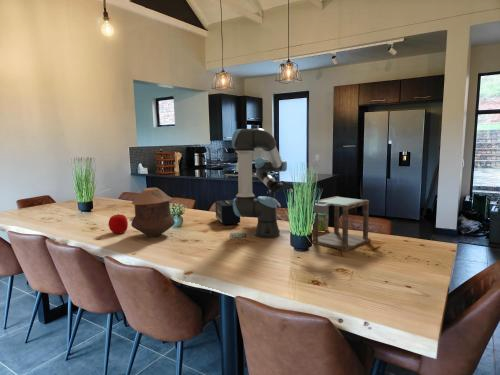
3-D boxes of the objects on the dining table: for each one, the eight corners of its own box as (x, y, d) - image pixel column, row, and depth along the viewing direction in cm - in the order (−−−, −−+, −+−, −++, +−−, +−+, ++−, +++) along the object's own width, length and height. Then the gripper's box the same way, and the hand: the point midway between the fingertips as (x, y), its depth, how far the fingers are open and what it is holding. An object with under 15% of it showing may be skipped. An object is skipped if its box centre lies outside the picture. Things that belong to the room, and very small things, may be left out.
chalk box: (310, 231, 215) (310, 208, 213) (314, 228, 223) (314, 205, 221) (324, 233, 211) (324, 209, 209) (328, 229, 219) (328, 206, 217)
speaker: (215, 219, 253) (215, 199, 251) (232, 218, 257) (232, 198, 255) (222, 226, 232) (221, 204, 230) (240, 224, 236) (239, 203, 234)
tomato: (124, 235, 215) (123, 215, 213) (106, 235, 215) (104, 216, 213) (131, 230, 227) (130, 211, 225) (114, 230, 227) (112, 212, 226)
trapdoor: (325, 214, 166) (325, 206, 166) (299, 210, 178) (299, 202, 177) (363, 204, 190) (363, 197, 190) (338, 201, 202) (338, 194, 201)
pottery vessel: (180, 230, 224) (178, 185, 220) (167, 241, 199) (164, 190, 195) (142, 230, 227) (139, 185, 223) (125, 241, 202) (121, 191, 198)
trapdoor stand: (346, 251, 175) (346, 206, 172) (310, 242, 192) (310, 201, 189) (370, 241, 192) (371, 200, 189) (335, 233, 209) (335, 195, 206)
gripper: (285, 177, 248) (303, 194, 235) (257, 195, 243) (274, 213, 229) (284, 170, 243) (302, 187, 229) (255, 188, 237) (272, 206, 224)
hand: (288, 200), depth 229 cm, fingers open, 13 cm apart
